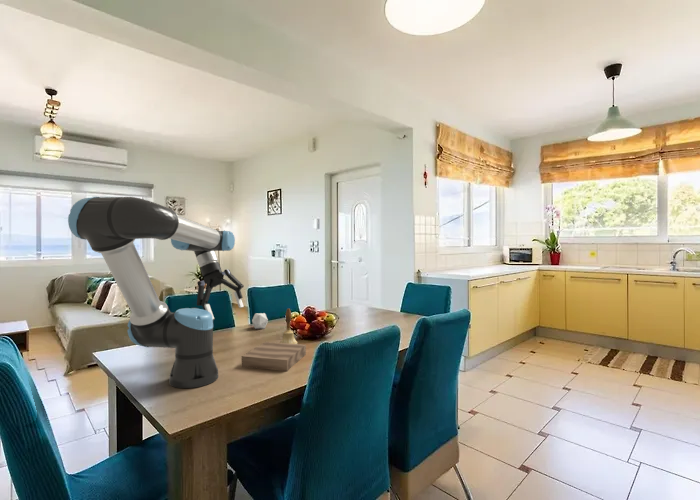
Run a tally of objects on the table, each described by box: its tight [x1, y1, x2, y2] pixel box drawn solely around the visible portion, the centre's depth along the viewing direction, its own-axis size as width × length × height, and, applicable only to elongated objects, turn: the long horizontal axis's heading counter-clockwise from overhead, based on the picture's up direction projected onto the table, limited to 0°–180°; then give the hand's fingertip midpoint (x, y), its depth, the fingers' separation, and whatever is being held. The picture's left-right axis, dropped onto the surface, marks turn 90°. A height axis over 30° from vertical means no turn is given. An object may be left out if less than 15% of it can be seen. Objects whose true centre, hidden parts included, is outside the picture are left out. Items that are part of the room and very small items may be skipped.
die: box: [251, 312, 269, 330], centre depth 196 cm, size 8×9×10 cm
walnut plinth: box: [241, 341, 307, 372], centre depth 144 cm, size 20×18×4 cm
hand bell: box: [279, 308, 299, 344], centre depth 167 cm, size 8×8×16 cm
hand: (226, 313), depth 147 cm, fingers open, 13 cm apart
